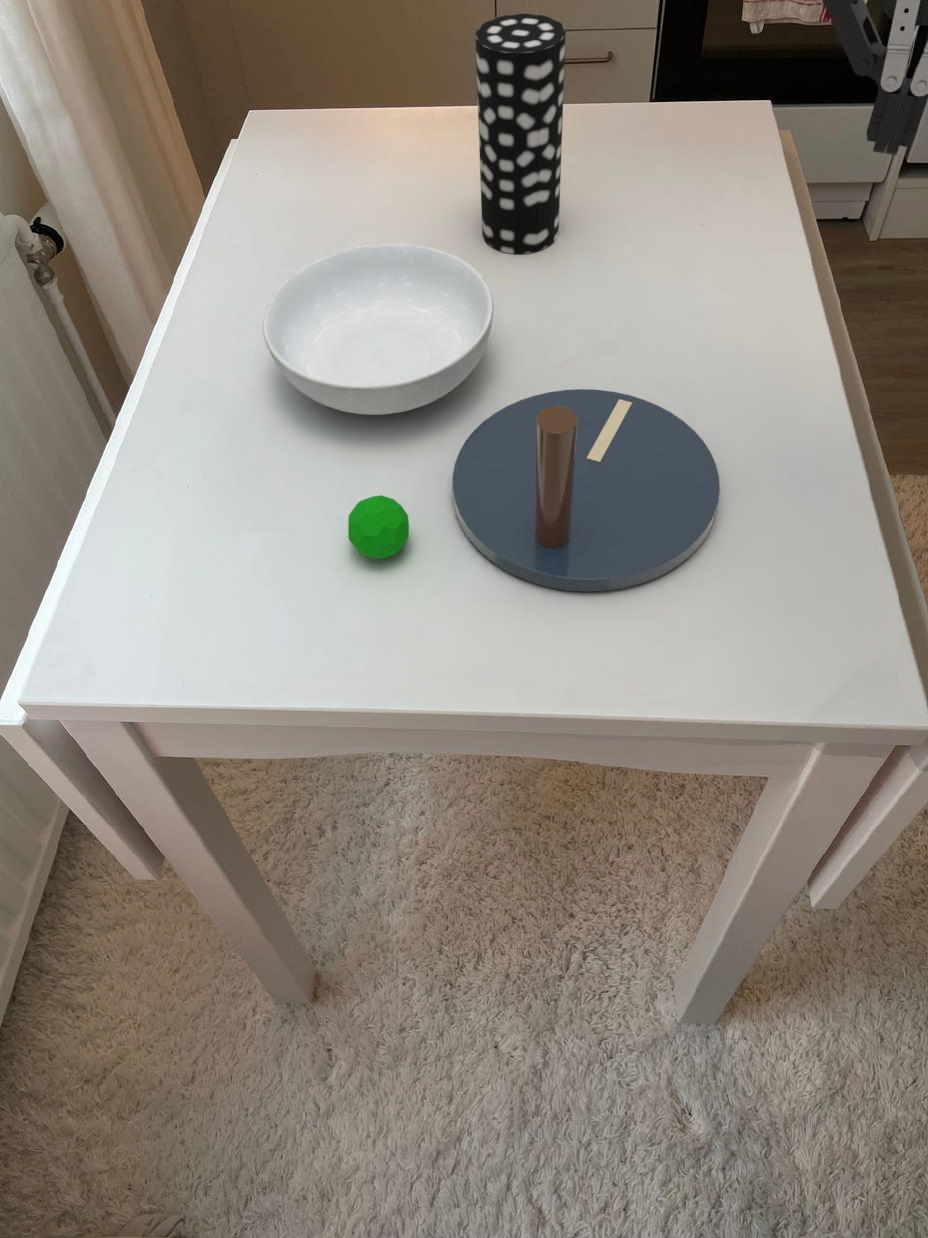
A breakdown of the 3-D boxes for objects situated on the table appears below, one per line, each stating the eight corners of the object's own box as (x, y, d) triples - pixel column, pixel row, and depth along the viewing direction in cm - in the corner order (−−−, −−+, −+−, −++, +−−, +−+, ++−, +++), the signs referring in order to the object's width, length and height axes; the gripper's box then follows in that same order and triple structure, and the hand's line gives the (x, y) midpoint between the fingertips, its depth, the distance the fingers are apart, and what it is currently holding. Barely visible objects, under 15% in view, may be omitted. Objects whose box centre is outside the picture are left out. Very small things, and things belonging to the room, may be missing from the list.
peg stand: (516, 377, 89) (515, 246, 78) (748, 439, 83) (782, 306, 72) (408, 541, 78) (389, 414, 67) (668, 628, 71) (694, 503, 60)
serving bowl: (238, 361, 93) (220, 301, 88) (414, 278, 100) (407, 217, 94) (353, 480, 83) (340, 419, 77) (540, 378, 89) (541, 316, 84)
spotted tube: (471, 246, 103) (461, 46, 87) (498, 206, 107) (494, 9, 91) (544, 259, 101) (548, 57, 85) (568, 218, 105) (577, 18, 89)
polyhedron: (414, 567, 76) (408, 527, 73) (352, 573, 76) (344, 534, 73) (409, 521, 79) (404, 480, 76) (351, 527, 79) (342, 487, 75)
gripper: (841, -196, 46) (766, 158, 60) (1146, -176, 42) (991, 197, 56) (871, -238, 50) (795, 104, 64) (1153, -223, 46) (1006, 136, 60)
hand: (887, 147), depth 60 cm, fingers closed
